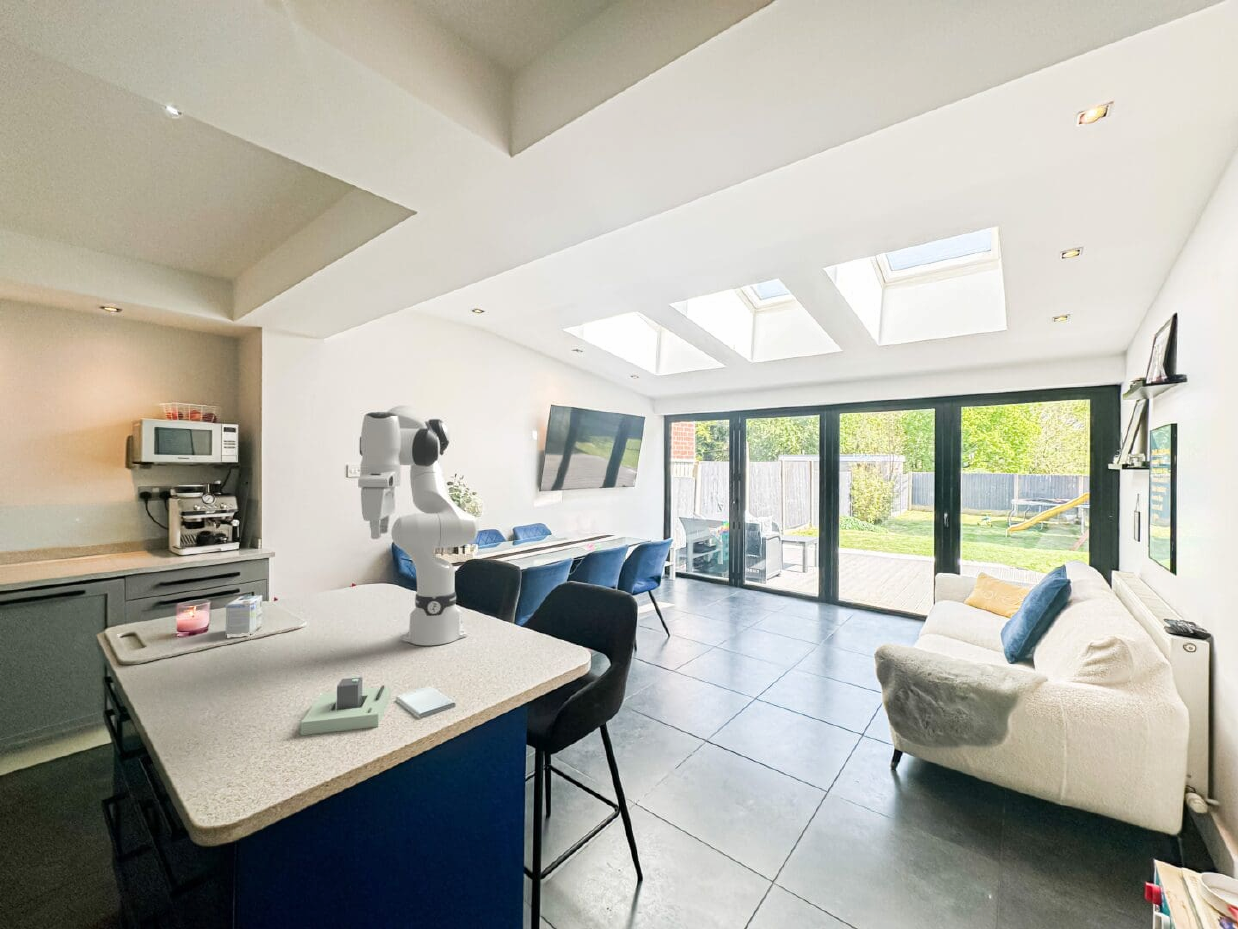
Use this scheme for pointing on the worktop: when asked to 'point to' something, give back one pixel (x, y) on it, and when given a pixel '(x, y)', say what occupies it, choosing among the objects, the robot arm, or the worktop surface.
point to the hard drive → (425, 702)
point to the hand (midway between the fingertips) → (379, 535)
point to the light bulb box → (243, 614)
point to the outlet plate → (346, 712)
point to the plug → (349, 693)
